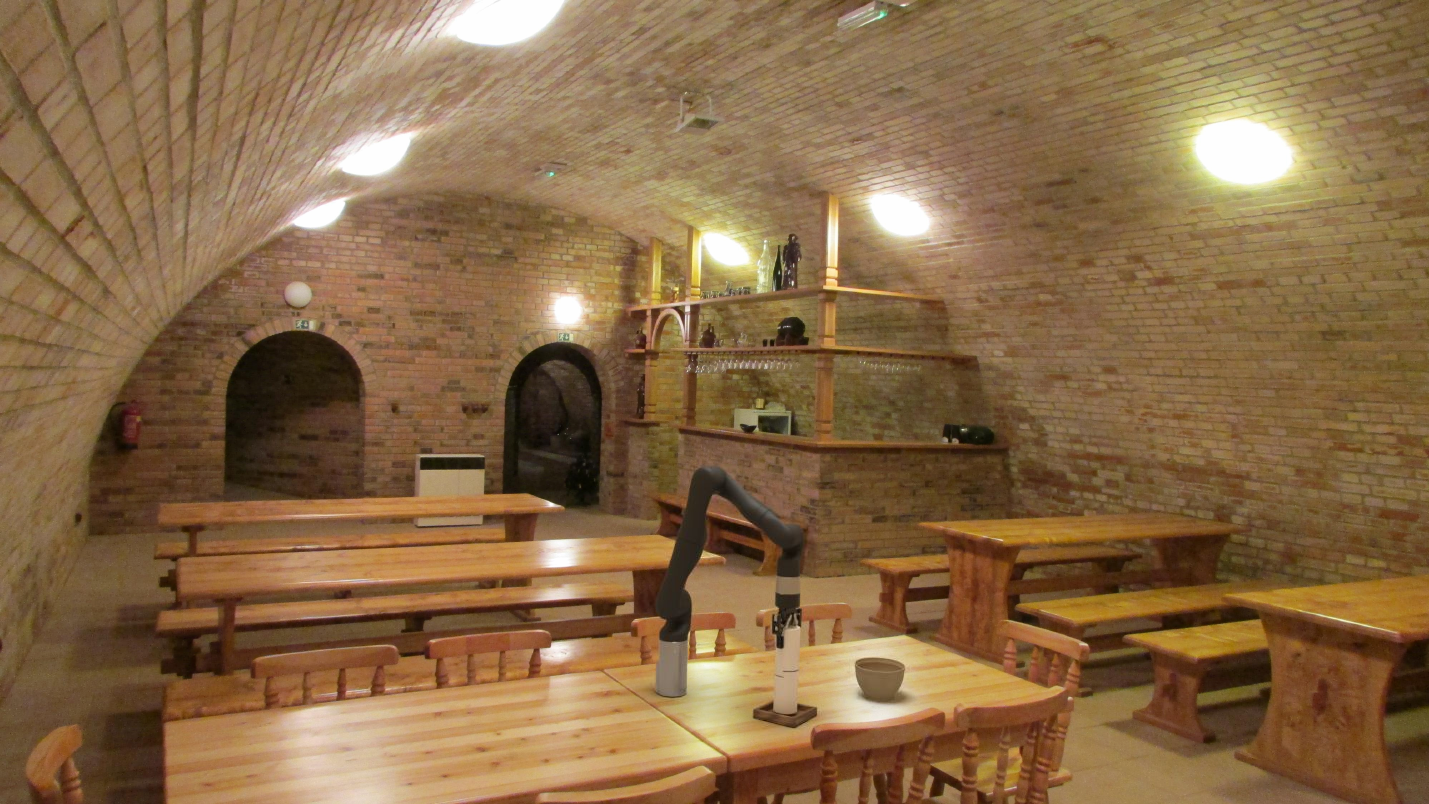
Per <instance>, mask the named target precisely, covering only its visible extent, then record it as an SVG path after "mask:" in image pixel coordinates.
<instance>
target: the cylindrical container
mask: <svg viewBox="0 0 1429 804" xmlns="http://www.w3.org/2000/svg"><path fill="white" fill-rule="evenodd" d="M781 631H782V629H781ZM800 645H801V628H800V627H799V626H793V625H789V626H788V628H787V629H785V633H784V648H783V649H779V648H777V647H776V646H775V657H774V658H775V659H774V660H775V661H774V682H773V700H774V703H773V710H774V711H775V712H777V713H781V714H793V713H796V712H797V703H798V695H799V674H800V672H799V671H800V670H799V669H800V668H799V667H800V649H801V646H800Z"/></svg>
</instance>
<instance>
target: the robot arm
mask: <svg viewBox="0 0 1429 804" xmlns="http://www.w3.org/2000/svg"><path fill="white" fill-rule="evenodd" d="M714 495H717V496H720V497H721V498H723V499H725V500H727V501H728V502H730V503H731V504H732V505H734V506H735V508H736V509H737V510H738V512H739V513H740V515H741V516H742V517H743V518H744V519H745V520H746V521H747V522H749V523H750V524H752V525H753V526H754V527H756V528H757V529H759V530H760V531H761V532H763V534H765V536H766V537H768V539H769V540H770V541H771V542H772V543H773V544H775V545H776V546H777V547H779V548H780V549H782V550H781V554H780V555H779V557H778V558H777V561H776V576H775V577H776V578H775V586H774V587H775V588H774V589H775V590H774V591H775V592H774V594H775V595H774V605H775V607H777V608H778V611H777V613H772V616H771V634H772V635H775V636H776V637H775V648H776V647H777V648H779V649H783V648H784V633H785V629H787V628H788V626H789V625H793V626H799V627H800V629H801V628H802V621H803V617H802V616H803V614H802V613H803V609H802V607H801V559H802V555H803V551H804V550H803V549H804V545H805V532H804V530H803V528H802V527H801V525H799V524H798V523H788V524H786V523H784V522H783V521H782V520H781V519H780V518H779V515H778V513H777V512H776V511H774V510H773V509H772V508H770V507H769V506H767V505H766V504H765V503H763V502H761V501H760V500H759V499H757V498H756V497H754V496H753V495H752V494H750V492H748V491H747V490H745V489H744V488H743V487H742V486H741V485H740V484H739V483H738V482H737V481H736V480H735V479H734V478H733V477H732V476H731V475H730V474H729V473H728V472H727V471H726V470H724V468H722V467H720V466H718V465H706V466H705V465H704V466H700V467H698V468H697V469H696V470H695V471H694V472H693V474H692V477H691V479H690V485H689V489H688V496H687V501H686V506H685V508H684V513H683V515H682V520H681V523H680V526H679V528H678V529H679V530H678V532H677V536H676V539H675V542H674V546H673V550H672V553H671V556H670V559H669V562H668V563H669V564H668V566H667V570H666V572H665V577H664V578H663V581H662V583H661V586H660V588H659V591H658V592H657V594H656V599H655V603H654V607H655V612H656V614H657V615H658V617H659V618H660V619H661V620H665V622H664V624H663V626H662V627H661V628H660V630H659V633H658V638H659V639H658V661H657V662H655V683H654V684H655V686H654V687H655V689H654V690H655V693H657V694H658V695H660V696H662V697H671V698H673V697H675V698H676V697H682V696H685V695H686V694H687V693H688V691H687V688H688V652H689V651H688V647H689V646H688V645H689V644H688V643H689V633H690V631H691V626H692V625H691V624H692V613H693V611H692V610H693V602H692V597H691V595H690V593H689V592H688V590H687V589H685V588H684V587H685V584H686V581H687V580H688V578H689V576H690V575H691V573H692V572H693V571H694V569H695V568H696V566H697V564H698V563H699V561H700V560H701V558H702V555H703V552H704V548H705V546H706V543H707V539H708V538H707V537H708V529H707V527H708V526H707V525H708V524H707V512H708V508H709V505H710V502H711V499H712V497H713V496H714ZM781 629H782V631H781Z"/></svg>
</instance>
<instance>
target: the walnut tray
mask: <svg viewBox="0 0 1429 804" xmlns="http://www.w3.org/2000/svg"><path fill="white" fill-rule="evenodd" d="M773 703H774V699H773V700H771V701H769V702H767V703H765V704H763V705H760V706H759V707H756V708H754V709H753V711H752V718H753V719H757V720H759V719H760V720H761V721H764V720H766V721H765V722H768V721H769V723H774V724H778V725H782V726H786V727H791V728H796V727H798V726H799V725H802V724H803V722H804V723H805V721H806V722H807V720H808V721H810V720H811V719H813V718H814V717H813V716H815V717H817V716H818V707H817V706H813V705H808V704H804V703H799V702H797V712H796V713H793V714H781V713H777V712H775V711H774V710H773ZM816 715H817V716H816ZM812 717H813V718H812ZM809 719H810V720H809ZM801 723H802V724H801Z"/></svg>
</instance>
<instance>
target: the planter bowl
mask: <svg viewBox="0 0 1429 804" xmlns="http://www.w3.org/2000/svg"><path fill="white" fill-rule="evenodd" d="M854 668H855V669H854V671H855V677H856V680H857V681H856V682H857V684H858V687H859V688H860V690H861V691H862V692H863V697H865V698H866V699H868V700H869V701H870V700H871V701H875V702H890V701H892V700H894V698H895V695H896V694H897V693H898V691H899V690H900V688H901V687H902V684H903V681H904V676H905V671H906V665H905V664H904V663H903V662H901V661H898V660H895V659H892V658H887V657H877V656H872V657H862V658H861V657H860V658H858V659H856V660H855V661H854Z"/></svg>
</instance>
